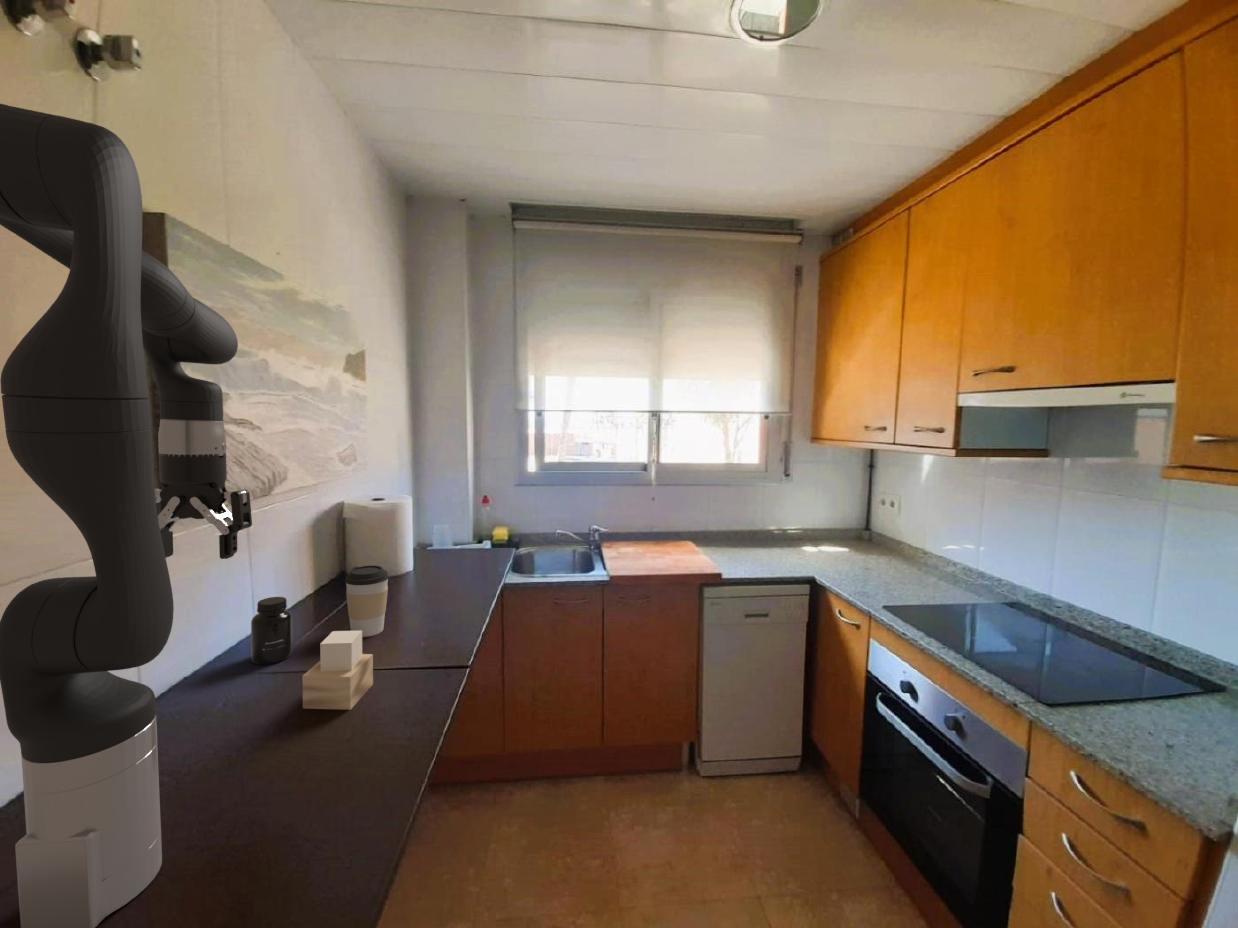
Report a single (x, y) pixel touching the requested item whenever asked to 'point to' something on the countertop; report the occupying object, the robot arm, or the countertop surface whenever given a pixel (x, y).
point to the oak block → (337, 685)
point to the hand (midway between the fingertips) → (196, 557)
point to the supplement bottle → (271, 631)
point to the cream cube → (341, 651)
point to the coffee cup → (367, 599)
